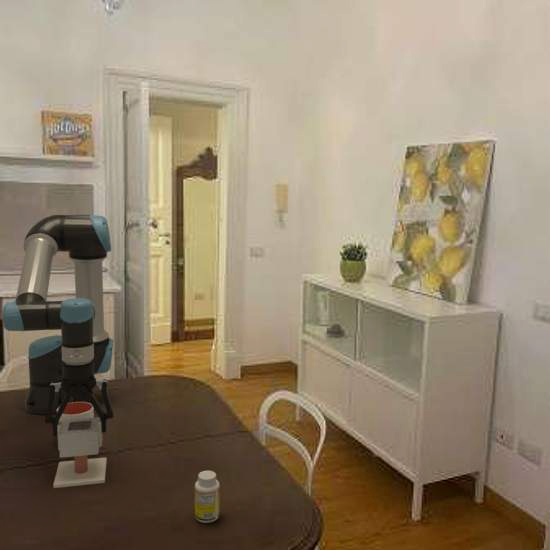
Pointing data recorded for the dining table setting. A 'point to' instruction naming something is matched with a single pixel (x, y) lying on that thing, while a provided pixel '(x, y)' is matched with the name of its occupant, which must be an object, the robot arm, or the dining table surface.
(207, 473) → the supplement bottle
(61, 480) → the peg stand
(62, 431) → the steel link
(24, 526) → the dining table surface
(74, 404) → the cup
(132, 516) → the dining table surface
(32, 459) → the dining table surface
